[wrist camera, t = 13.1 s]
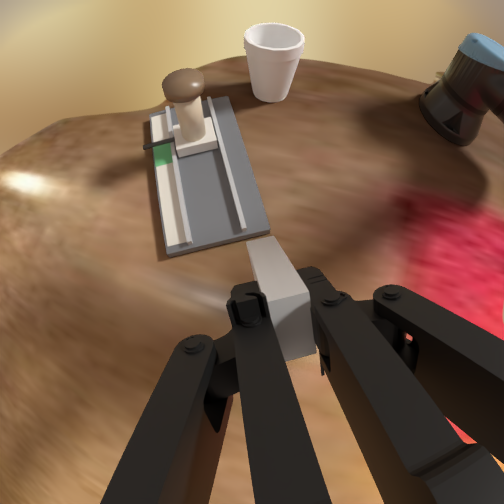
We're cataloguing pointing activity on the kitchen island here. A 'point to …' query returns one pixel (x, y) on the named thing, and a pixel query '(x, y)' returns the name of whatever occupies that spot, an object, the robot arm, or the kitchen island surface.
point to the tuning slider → (188, 113)
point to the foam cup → (272, 58)
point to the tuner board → (206, 185)
